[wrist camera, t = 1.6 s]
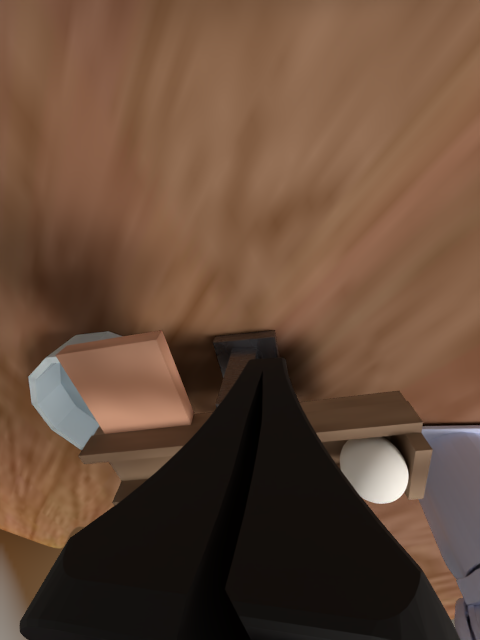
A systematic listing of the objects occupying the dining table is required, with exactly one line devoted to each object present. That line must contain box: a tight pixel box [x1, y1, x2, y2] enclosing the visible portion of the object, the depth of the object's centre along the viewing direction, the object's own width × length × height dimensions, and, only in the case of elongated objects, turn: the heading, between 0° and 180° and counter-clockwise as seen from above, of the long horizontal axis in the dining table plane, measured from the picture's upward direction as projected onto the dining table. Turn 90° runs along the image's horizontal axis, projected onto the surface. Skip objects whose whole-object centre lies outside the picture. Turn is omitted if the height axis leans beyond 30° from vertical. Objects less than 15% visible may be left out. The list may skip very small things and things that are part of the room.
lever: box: [55, 330, 433, 505], centre depth 16 cm, size 12×20×4 cm, turn 101°
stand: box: [213, 330, 280, 408], centre depth 21 cm, size 10×5×7 cm, turn 11°
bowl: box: [28, 331, 123, 450], centre depth 25 cm, size 13×13×4 cm
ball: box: [340, 437, 408, 504], centre depth 15 cm, size 4×4×4 cm
